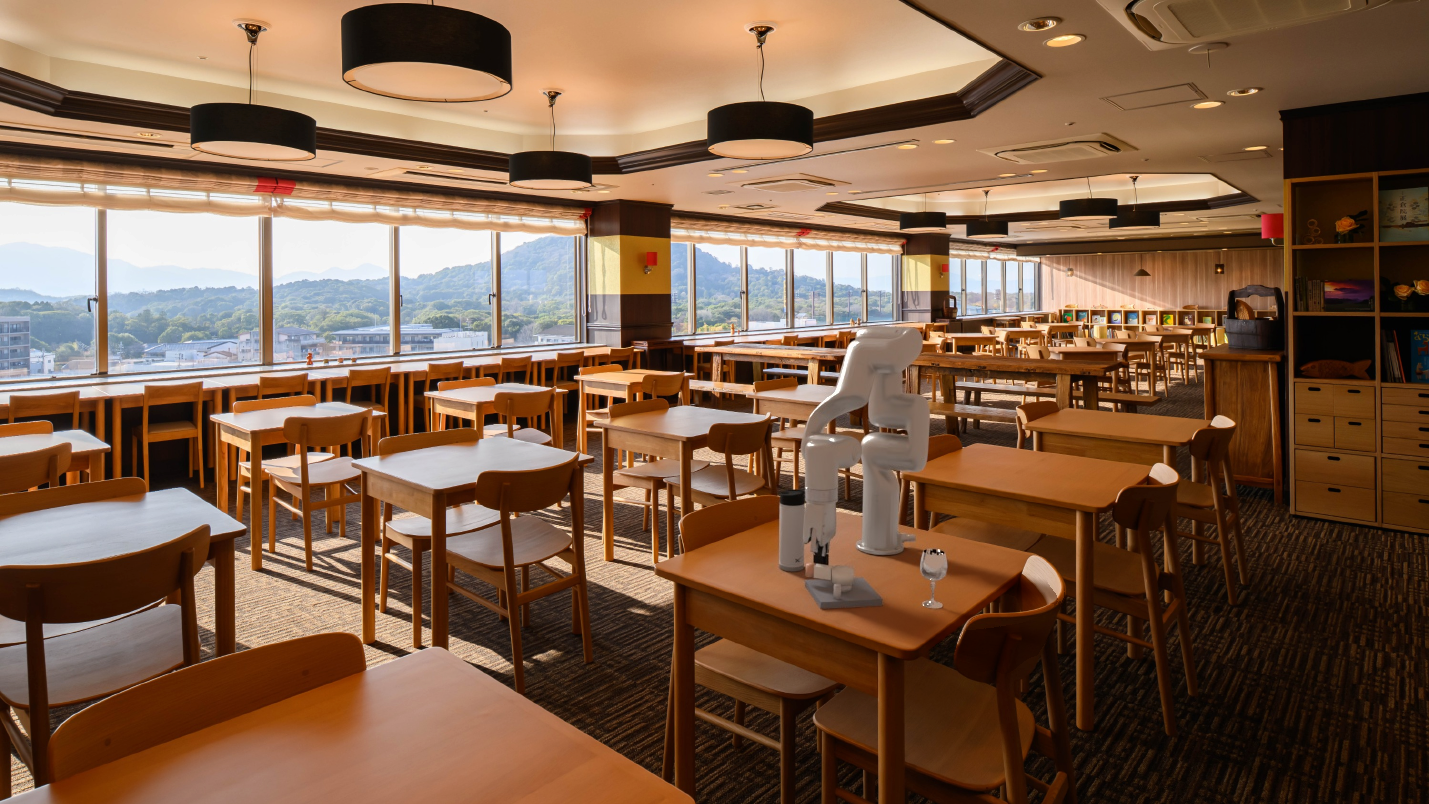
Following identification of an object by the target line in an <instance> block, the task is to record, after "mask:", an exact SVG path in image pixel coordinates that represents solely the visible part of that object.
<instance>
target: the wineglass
mask: <svg viewBox="0 0 1429 804" xmlns="http://www.w3.org/2000/svg"><path fill="white" fill-rule="evenodd" d="M947 560H948V559H947V554H946V551H944V550H943V549H938V548H925V549H923V551H922V554H921V557H920V562H919V563H920V564H919V570H920V573H921V576H922V577H924V578H925V580H926V579H927V580H929V581H931V582H930V589H931V598H930V599H929V600H925V601H922V602H921V605H922V606H923V607H925V608H927V609H933V610H934V609H935V610H937V609H941V608H943V605H944V604H943V603H941V602H939V601H937V600H935V597H934V596H935V593H934V592H935V588H936V582H937V581H941V580H943V579H944V578H945V577H946V575H947V574H948V561H947Z"/></svg>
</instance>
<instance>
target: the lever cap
mask: <svg viewBox="0 0 1429 804" xmlns="http://www.w3.org/2000/svg"><path fill="white" fill-rule="evenodd" d="M805 577H807V578H814V579H827V580H831V579H832V582H833V583H834V584H840V585H851V584H853V583H854V577H855V568H854V567H852V566H851V565H846V564H845V565H844V564H837V565H830V564H829V565H823V564H815V563H813V562H806V563H805Z"/></svg>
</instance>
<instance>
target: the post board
mask: <svg viewBox="0 0 1429 804" xmlns="http://www.w3.org/2000/svg"><path fill="white" fill-rule="evenodd" d="M804 587H805V588H806V590H807V591H808V593H809V594H810V596H811V595H812V596H811V597H812V599H813V598H814V599H813V600H814V602H815V603H816V605H818V608H820V610H824V609H827V608H828V609H843V607H845V608H859V607H860V608H861V607H879V606H883V605H884V599H883V597H882V596H881V595H880V594H879V593H878V592H877V591H876V590H875V589H874V587H872V586H871V585H870V583H869V582H868V581H867V580H866V579H865V578H864V577H863V576H858V577H857V576H856V577H855V576H854V583H853V584H851V585H840V584H834V583H833V582H832V579H831V580H827V579H820V578H814V579H813V578H812V579H804ZM841 607H842V608H841Z"/></svg>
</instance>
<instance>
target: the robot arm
mask: <svg viewBox="0 0 1429 804" xmlns="http://www.w3.org/2000/svg"><path fill="white" fill-rule="evenodd" d="M923 343H924V339H923V335H922V333H921V332H920V330H919V329H918V328H915V327H911V326H887V325H884V326H883V325H871V326H865V327H862V328H859V329H858V330H857V332H856V333H855V339H854V340H852V341H851V342H850V343H849V344H848V346H847V348H846V351H845V354H844V357H843V361H842V365H841V368H840V371H839V374H838V378H837V382H836V384H835V389H834V391H833V393H831V394H830V395H829V396H828V397H826V398H825V399H824V400H823V401H822V402H821V403H819V404H818V405H817V406H816V408H815V409H814V410H813V411H812V412H811V414H810V415H809V417H808V419H807V421H806V424H805V427H804V431H803V434H802V438H801V444H800V453H801V454H800V455H801V457H802V458H803V460H804V490H805V493H804V496H805V514H804V529H803V542H804V545H808V544H809V543H810V549H809V550H810V552H811V553H812V555H813V559H812V560H813V562H812V563H815V564H823V565H830V564H829V561H830V559H829V557H830V556H829V553H830V546H831V544H830V543H831V541H832V539H833V538H835V537H836V535H837V534H836V533H837V504H836V503H837V502H838V501H839V470H841V469H849V468H852V467H854V466H855V465H857V464H858V463H859V461H860V460H861V463H862V464H861V466H862V477H863V478H862V480H863V481H862V482H863V483H862V487H863V488H862V526H861V527H862V530H861V539H859V540H856V542H855V547H856V549H857V550H859V551H861V552H863V553H864V554H869V555H878V556H889V555H890V556H892V555H897V554H900V553H902V552H903V551H904V547H905V546H904V544H905V542H908V543H911V542H912V543H913V542H914V543H915V542H916V540H917V539H916V535H915V534H908V533H907V532H902V533H901V532H900V531H899V518H900V517H899V515H900V513H899V512H900V509H899V508H900V484H899V480H898V477H897V476H896V474H895V473H894V471H898V472H900V471H901V472H907V473H919V472H921V471H923V470H924V469H925V468H926V465H927V461H928V456H929V455H928V454H929V438H930V426H931V425H930V421H931V409H930V404H929V402H928V400H927V398H926V397H925V396H923V395H921V394H917V393H906V392H903V376H904V375H903V371H904V370H906V369H907V368H908V367H909V366H911V364H912V363H914V361H916V360H917V359H918V357H919V356H920V354H921V352H922V350H923V345H924V344H923ZM867 404H868V411H867V412H868V413H867V415H868V421H869V422H870V424H871V425H873V426H875V427H877V428H878V427H879V428H886V429H894V430H905V431H906V432H907V434H900V433H898V434H897V433H892V432H881V431H880V432H879V431H878V432H875V431H874V432H870V433H868V434H866V435H865V436H864V437H863V438H862V440H861V442H860V441H859V440H858V439H857V438H856V437H853V436H850V435H842V434H836V433H835V434H834V433H833V434H832V433H827V432H826V433H825V432H824V430H825V428H826V427H827V426H828V424H829V423H830V422H832V420H834V419H836V418H837V417H839V416H841V415H844V414H846V413H850V412H853V411H854V410H858V409H860V408H863V407H865V406H866V405H867Z"/></svg>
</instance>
